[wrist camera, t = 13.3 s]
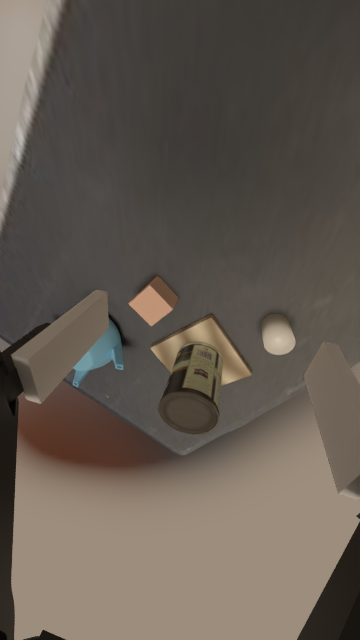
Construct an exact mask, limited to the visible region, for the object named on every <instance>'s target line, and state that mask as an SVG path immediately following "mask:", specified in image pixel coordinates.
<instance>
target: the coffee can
mask: <svg viewBox="0 0 360 640" xmlns="http://www.w3.org/2000/svg"><path fill="white" fill-rule="evenodd" d="M222 369H223V358H222V356H221V354H220V352H219V351H218V350H217V349H216V348H215V347H213V346H211V345H209V344H207V343H203V342H192V343H188V344H186V345H184V346H183V347H181V348H180V350H179V351H178V353H177V357H176V360H175V363H174V366H173V369H172V372H171V374H170V377H169V380H168V383H167V385H166V388H165V391H164V394H163V397H162V398H161V400H160V402H159V406H158V409H159V413H160V416H161V418H162V419H163V420H164V421H165V422H166V423H167V424H168V425H169V426H170V427H172V428H174V429H176V430H178V431H180V432H183V433H187V434H204V433H207V432H210V431H212V430H213V429H214V428H215V427H216V426H217V425H218V422H219V404H220V392H221V381H222Z"/></svg>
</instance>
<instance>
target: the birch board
mask: <svg viewBox="0 0 360 640" xmlns="http://www.w3.org/2000/svg"><path fill="white" fill-rule="evenodd" d="M192 342H203V343H207V344H209V345H211V346H213V347H215V348H216V349H217V350H218V351H219V352H220V354H221V356H222V358H223V369H222V381H221V386H222V385H225V384H227V383H230V382H233V381H236V380H239V379H242V378H245V377H247V376H250V375H252V370H251V369H250V367H249V366H248V364H247V363H246V362H245V360H244V359H243V357H242V356H241V354H240V353H239V351H238V350H237V349H236V347H235V346H234V344H233V343H232V341H231V340H230V339H229V337H228V336H227V334H226V333H225V331H224V330H223V328H222V327H221V326H220V324H219V323H218V321H217V320H216V318H215V317H214V316H213V314H210V315H208V316H206V317H204V318H202V319H201V320H199V321H197V322H195V323H193V324H191V325H189V326H187V327H185V328H183V329H181V330H179V331H177V332H175V333H173V334H171V335H169V336H167V337H166V338H164V339H162V340H160V341H158V342H156V343H154V344H152V346H151V347H150V349H151V350H152V351H153V352H154V354H155V355H156V356H157V357H158V358H159V359H160V361H161V362H162V363H163V364H164V365H165V367H166V368H167V369H168V370H169V371H170V372H172V369H173V366H174V363H175V360H176V357H177V353H178V351H179V350H180V348H181V347H183V346H184V345H186V344H188V343H192Z"/></svg>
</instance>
